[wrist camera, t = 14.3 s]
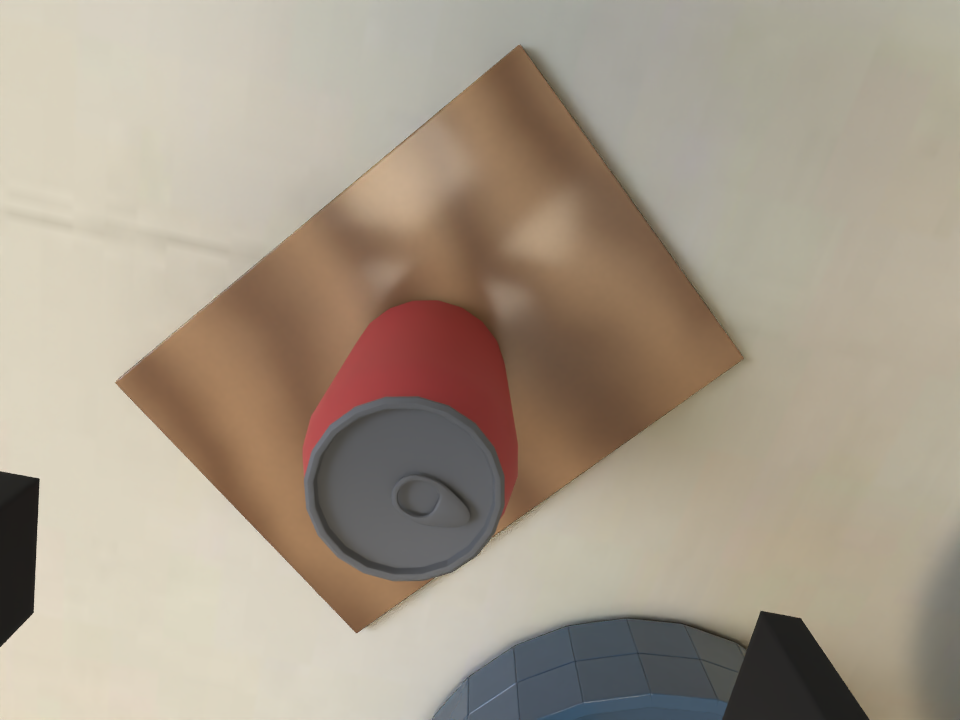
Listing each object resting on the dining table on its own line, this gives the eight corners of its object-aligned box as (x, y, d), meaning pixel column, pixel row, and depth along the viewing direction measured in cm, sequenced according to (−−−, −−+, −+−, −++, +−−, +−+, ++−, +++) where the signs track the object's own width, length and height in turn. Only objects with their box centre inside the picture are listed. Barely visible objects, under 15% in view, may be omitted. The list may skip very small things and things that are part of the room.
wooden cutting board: (519, 45, 29) (520, 43, 28) (740, 355, 32) (744, 358, 32) (119, 379, 32) (114, 382, 32) (357, 627, 36) (356, 634, 35)
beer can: (463, 466, 33) (459, 633, 21) (327, 404, 32) (247, 543, 21) (531, 338, 32) (567, 443, 20) (391, 269, 31) (343, 338, 19)
